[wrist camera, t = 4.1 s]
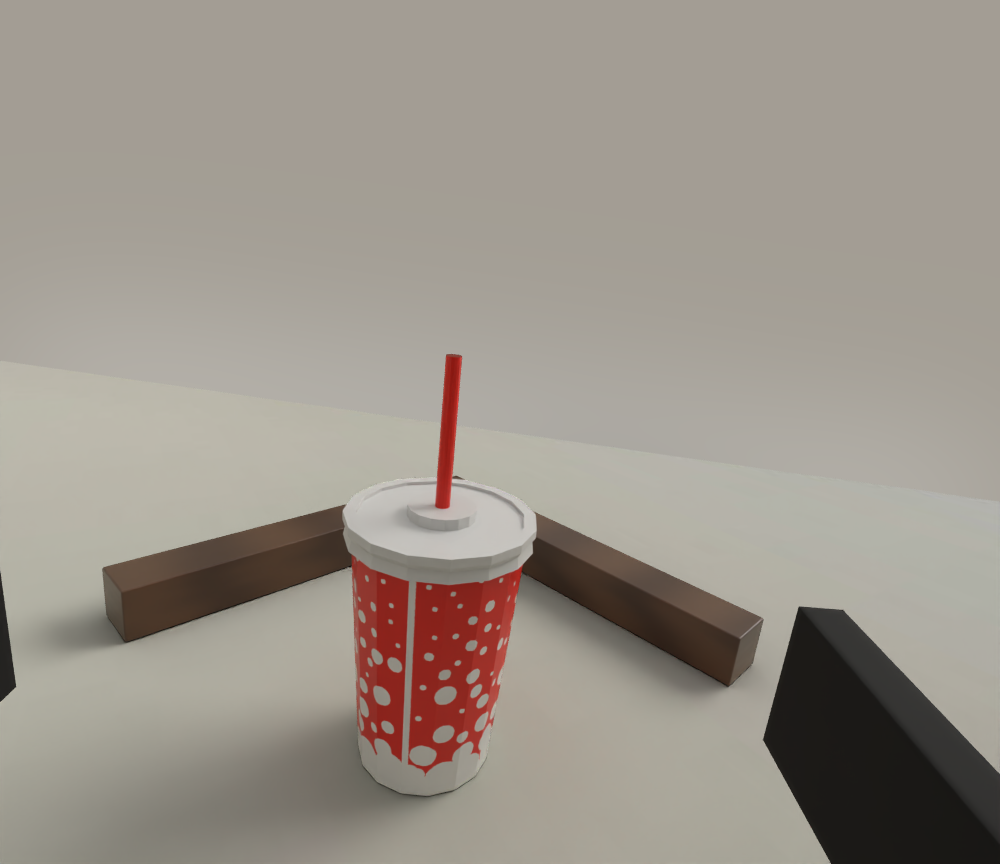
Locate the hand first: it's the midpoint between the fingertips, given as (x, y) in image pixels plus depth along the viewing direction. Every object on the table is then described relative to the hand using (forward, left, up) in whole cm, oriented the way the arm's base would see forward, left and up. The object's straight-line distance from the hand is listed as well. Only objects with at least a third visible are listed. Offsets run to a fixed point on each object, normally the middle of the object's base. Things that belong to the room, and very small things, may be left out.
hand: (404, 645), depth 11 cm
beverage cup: (+9, -3, -11) cm, 15 cm away
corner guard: (+20, -7, -11) cm, 24 cm away
